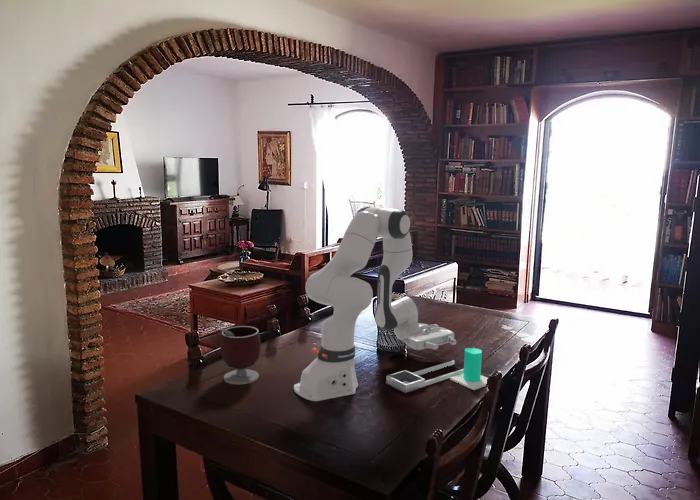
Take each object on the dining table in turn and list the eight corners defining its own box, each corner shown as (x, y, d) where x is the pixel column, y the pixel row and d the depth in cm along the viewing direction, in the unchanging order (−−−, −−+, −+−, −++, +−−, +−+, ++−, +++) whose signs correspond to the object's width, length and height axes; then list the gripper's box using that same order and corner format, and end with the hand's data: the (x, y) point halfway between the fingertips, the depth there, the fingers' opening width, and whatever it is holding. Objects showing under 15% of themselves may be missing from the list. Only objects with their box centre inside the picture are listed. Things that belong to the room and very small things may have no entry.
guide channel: (424, 386, 189) (424, 382, 189) (407, 378, 196) (407, 374, 195) (470, 371, 203) (471, 367, 203) (453, 363, 210) (453, 360, 210)
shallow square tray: (405, 393, 183) (405, 385, 182) (386, 383, 191) (386, 375, 190) (424, 387, 188) (425, 379, 188) (405, 377, 196) (405, 370, 195)
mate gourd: (244, 367, 204) (242, 315, 201) (269, 376, 196) (268, 323, 192) (209, 379, 193) (207, 325, 189) (234, 390, 184) (233, 333, 181)
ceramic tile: (473, 390, 186) (474, 388, 186) (449, 379, 195) (450, 377, 195) (494, 382, 193) (494, 380, 192) (470, 372, 201) (470, 370, 201)
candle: (460, 379, 193) (462, 346, 191) (467, 373, 198) (469, 342, 196) (476, 383, 190) (478, 350, 188) (483, 377, 195) (484, 345, 193)
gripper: (400, 331, 206) (426, 341, 195) (438, 323, 218) (464, 332, 207) (399, 347, 207) (425, 358, 196) (437, 338, 219) (464, 348, 208)
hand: (446, 345), depth 202 cm, fingers open, 8 cm apart
